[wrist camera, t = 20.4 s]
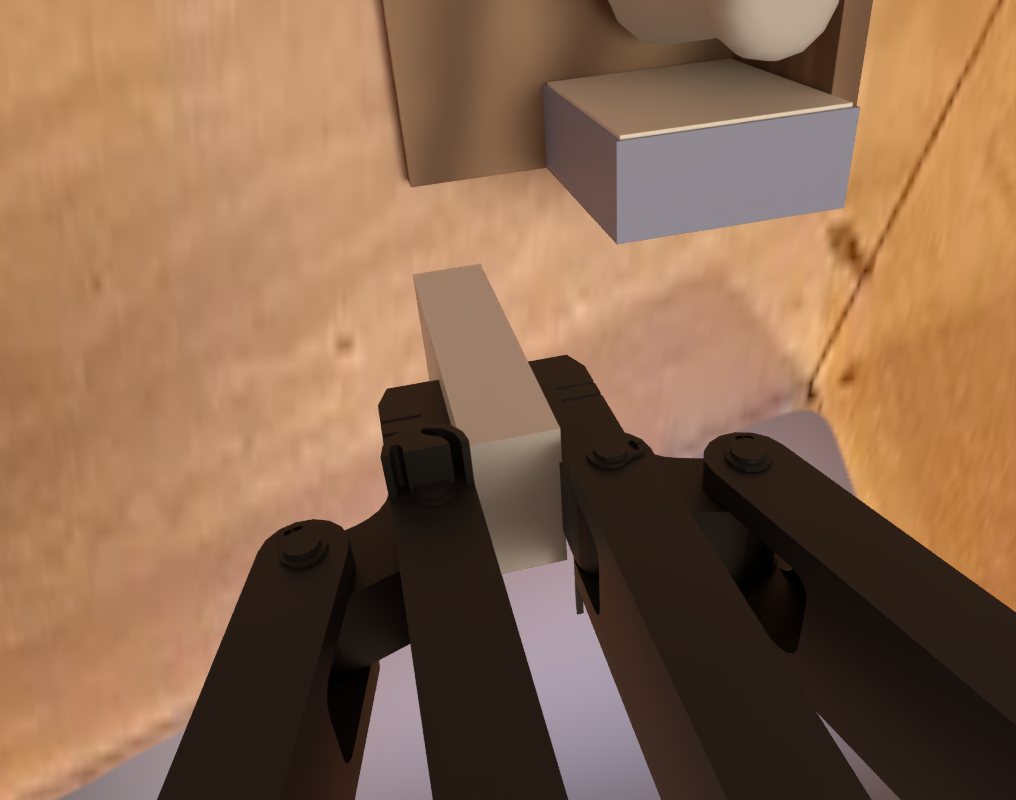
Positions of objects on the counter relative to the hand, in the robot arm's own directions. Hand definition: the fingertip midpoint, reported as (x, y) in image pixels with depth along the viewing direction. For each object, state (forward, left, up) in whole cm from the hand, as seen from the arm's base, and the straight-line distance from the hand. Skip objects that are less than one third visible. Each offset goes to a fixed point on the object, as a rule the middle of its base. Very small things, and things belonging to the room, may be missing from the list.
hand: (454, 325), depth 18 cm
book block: (+13, -2, -23) cm, 27 cm away
